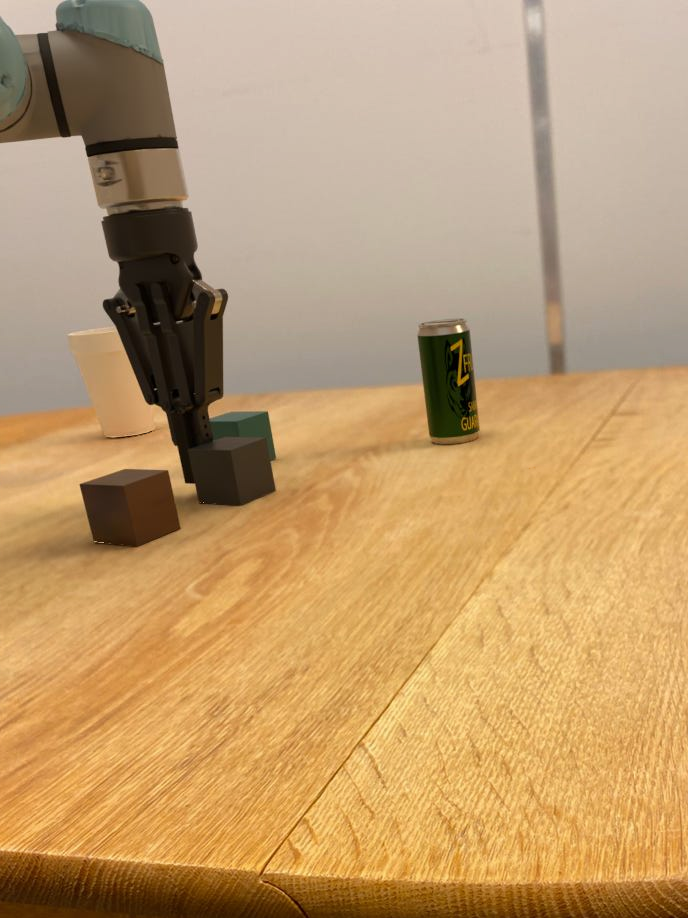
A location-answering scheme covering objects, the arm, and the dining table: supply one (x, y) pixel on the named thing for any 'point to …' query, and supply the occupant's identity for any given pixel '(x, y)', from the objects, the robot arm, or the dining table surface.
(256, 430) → the teal block
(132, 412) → the foam cup
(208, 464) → the charcoal block
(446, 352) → the beer can
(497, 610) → the dining table surface
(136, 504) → the walnut block
